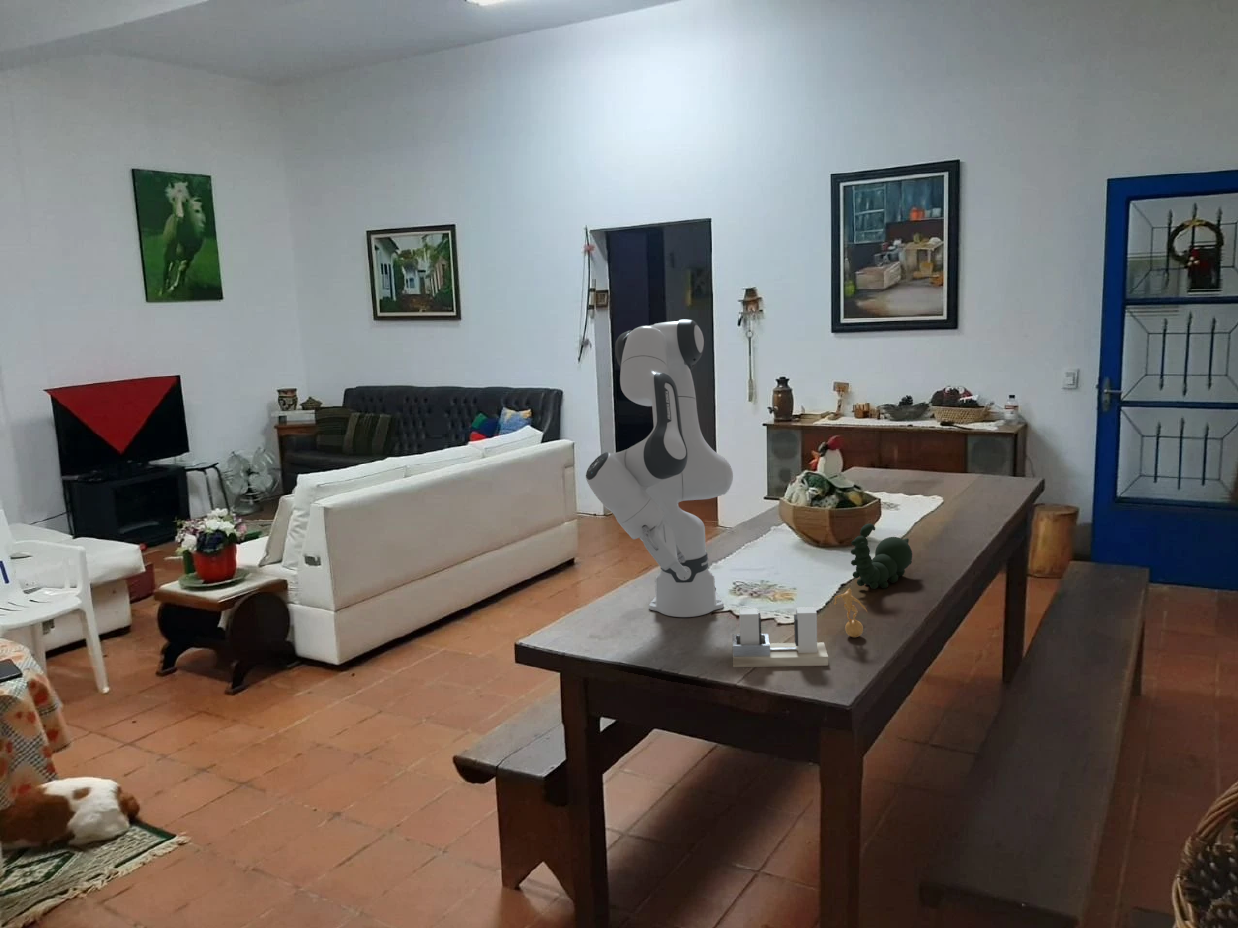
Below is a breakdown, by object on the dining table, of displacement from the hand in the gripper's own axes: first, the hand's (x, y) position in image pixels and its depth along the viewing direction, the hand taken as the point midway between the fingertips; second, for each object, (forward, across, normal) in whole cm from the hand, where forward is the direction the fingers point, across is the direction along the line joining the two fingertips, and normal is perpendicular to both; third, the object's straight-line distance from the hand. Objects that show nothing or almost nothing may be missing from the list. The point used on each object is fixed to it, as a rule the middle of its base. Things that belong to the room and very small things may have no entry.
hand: (683, 567), depth 207 cm
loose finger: (+23, -2, 0) cm, 23 cm away
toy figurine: (+50, +44, -30) cm, 73 cm away
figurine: (+40, +7, -18) cm, 44 cm away
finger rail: (+29, -3, -4) cm, 29 cm away
